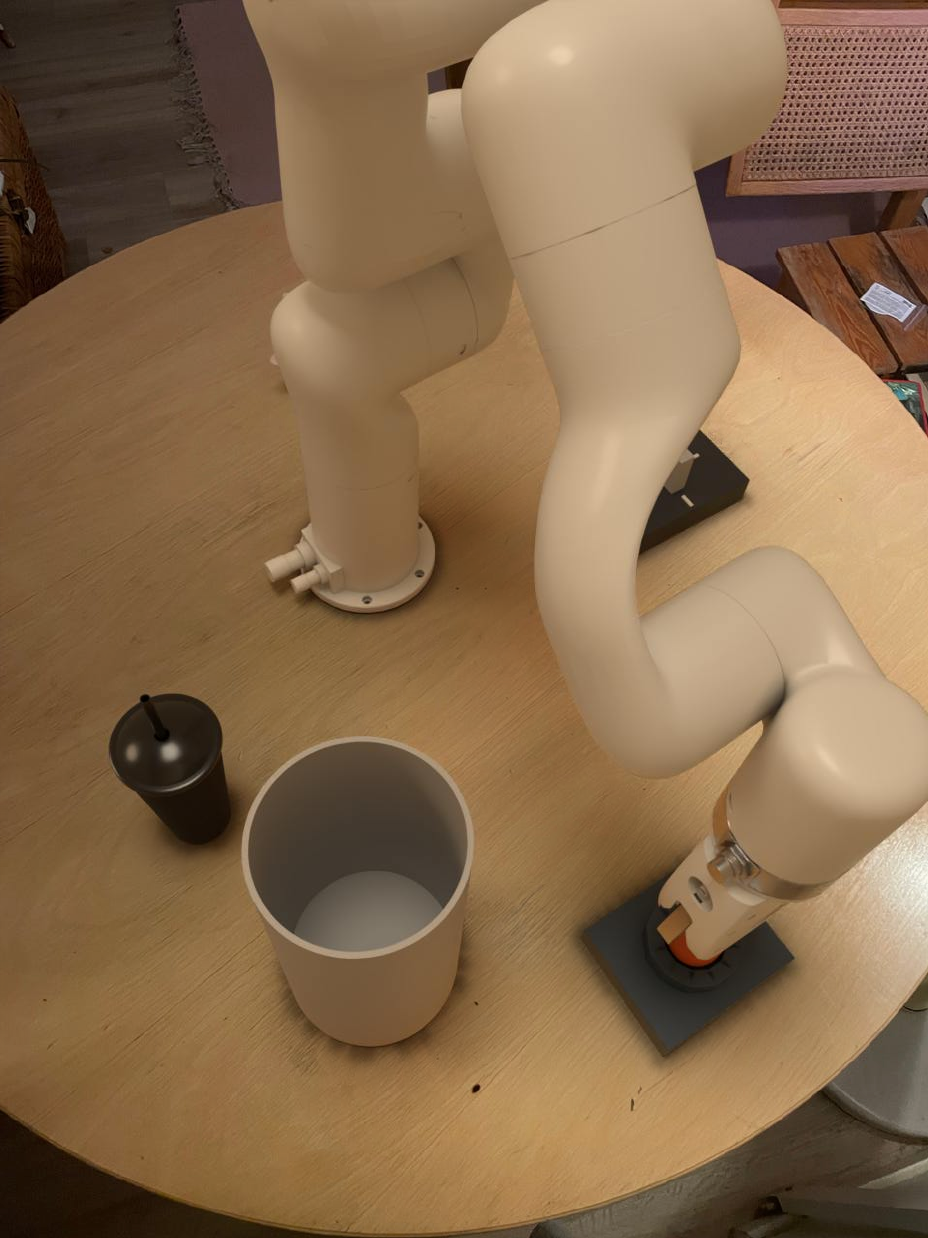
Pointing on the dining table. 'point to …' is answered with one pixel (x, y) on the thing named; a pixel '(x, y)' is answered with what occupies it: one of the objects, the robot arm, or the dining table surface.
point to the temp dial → (680, 473)
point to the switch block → (676, 969)
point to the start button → (687, 953)
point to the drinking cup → (174, 763)
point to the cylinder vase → (362, 884)
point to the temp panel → (695, 493)
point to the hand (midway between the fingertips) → (702, 919)
